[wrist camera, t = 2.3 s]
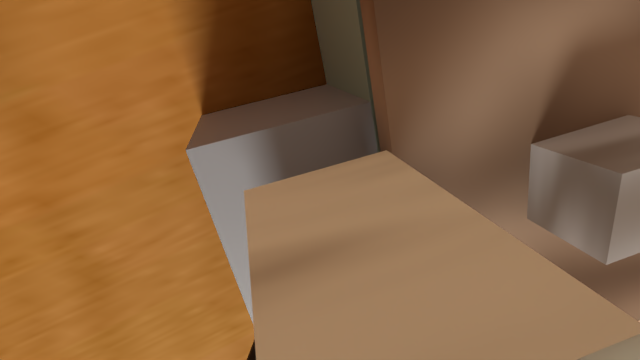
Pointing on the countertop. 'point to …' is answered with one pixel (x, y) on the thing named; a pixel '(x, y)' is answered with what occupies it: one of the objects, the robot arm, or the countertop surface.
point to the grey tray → (287, 132)
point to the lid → (522, 120)
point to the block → (409, 276)
